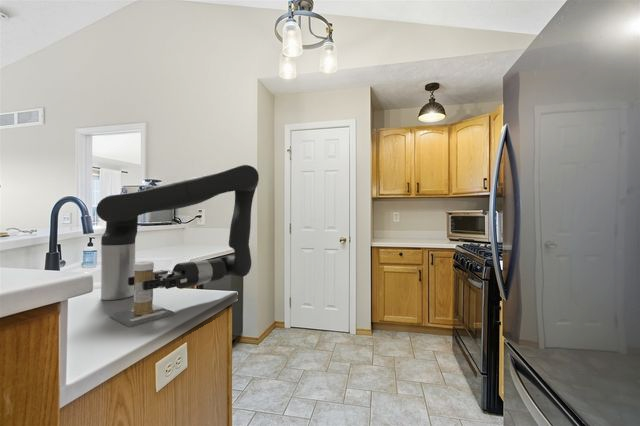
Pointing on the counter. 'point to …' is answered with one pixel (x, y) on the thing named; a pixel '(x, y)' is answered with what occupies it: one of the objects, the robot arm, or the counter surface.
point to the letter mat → (140, 316)
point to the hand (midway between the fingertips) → (135, 283)
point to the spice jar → (142, 296)
